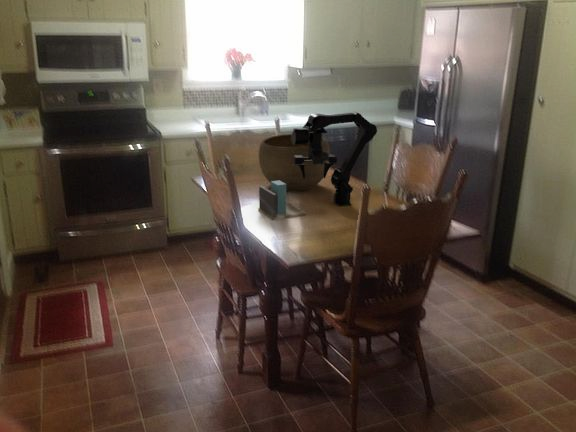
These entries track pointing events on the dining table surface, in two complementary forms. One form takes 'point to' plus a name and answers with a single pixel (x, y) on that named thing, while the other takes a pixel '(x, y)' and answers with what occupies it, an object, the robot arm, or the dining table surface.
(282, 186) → the tall teal pillar
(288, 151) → the brown bowl
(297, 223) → the dining table surface
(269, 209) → the grey l-shaped bracket
